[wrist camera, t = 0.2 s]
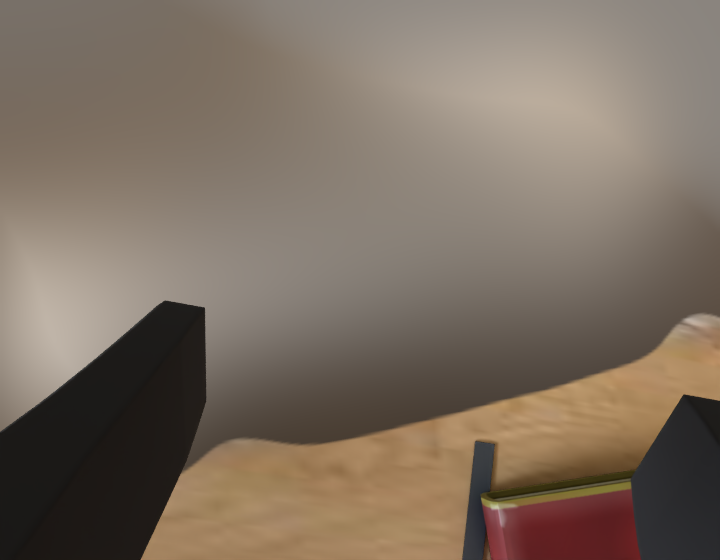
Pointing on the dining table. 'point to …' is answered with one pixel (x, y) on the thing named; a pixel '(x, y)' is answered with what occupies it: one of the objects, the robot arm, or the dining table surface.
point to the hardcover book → (563, 520)
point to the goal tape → (478, 501)
